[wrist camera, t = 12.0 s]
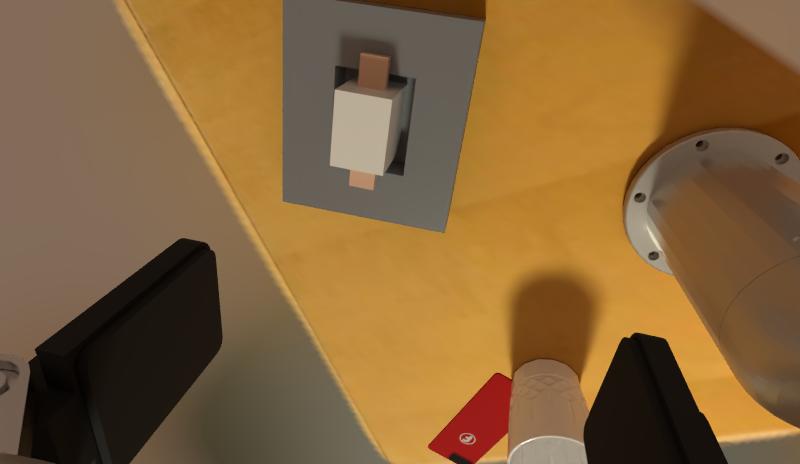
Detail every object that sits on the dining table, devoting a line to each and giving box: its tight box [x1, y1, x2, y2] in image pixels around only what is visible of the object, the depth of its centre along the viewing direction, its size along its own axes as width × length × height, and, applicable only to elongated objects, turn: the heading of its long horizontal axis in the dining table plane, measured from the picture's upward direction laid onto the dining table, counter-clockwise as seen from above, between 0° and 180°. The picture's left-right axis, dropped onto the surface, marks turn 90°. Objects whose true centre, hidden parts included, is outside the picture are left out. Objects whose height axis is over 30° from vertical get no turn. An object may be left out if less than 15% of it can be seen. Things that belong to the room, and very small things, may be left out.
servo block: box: [330, 52, 408, 190], centre depth 36 cm, size 4×10×6 cm, turn 172°
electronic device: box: [428, 373, 512, 464], centre depth 53 cm, size 6×1×15 cm
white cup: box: [507, 359, 589, 464], centre depth 44 cm, size 8×8×10 cm
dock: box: [283, 0, 486, 233], centre depth 37 cm, size 14×16×4 cm
